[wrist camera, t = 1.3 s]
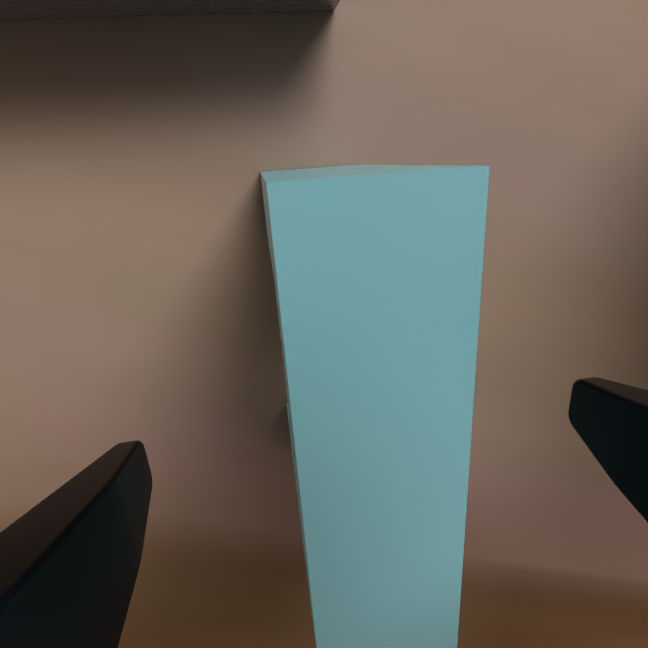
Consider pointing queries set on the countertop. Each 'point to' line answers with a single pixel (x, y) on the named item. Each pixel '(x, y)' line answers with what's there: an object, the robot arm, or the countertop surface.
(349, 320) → the clip
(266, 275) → the countertop surface
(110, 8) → the rail plate
